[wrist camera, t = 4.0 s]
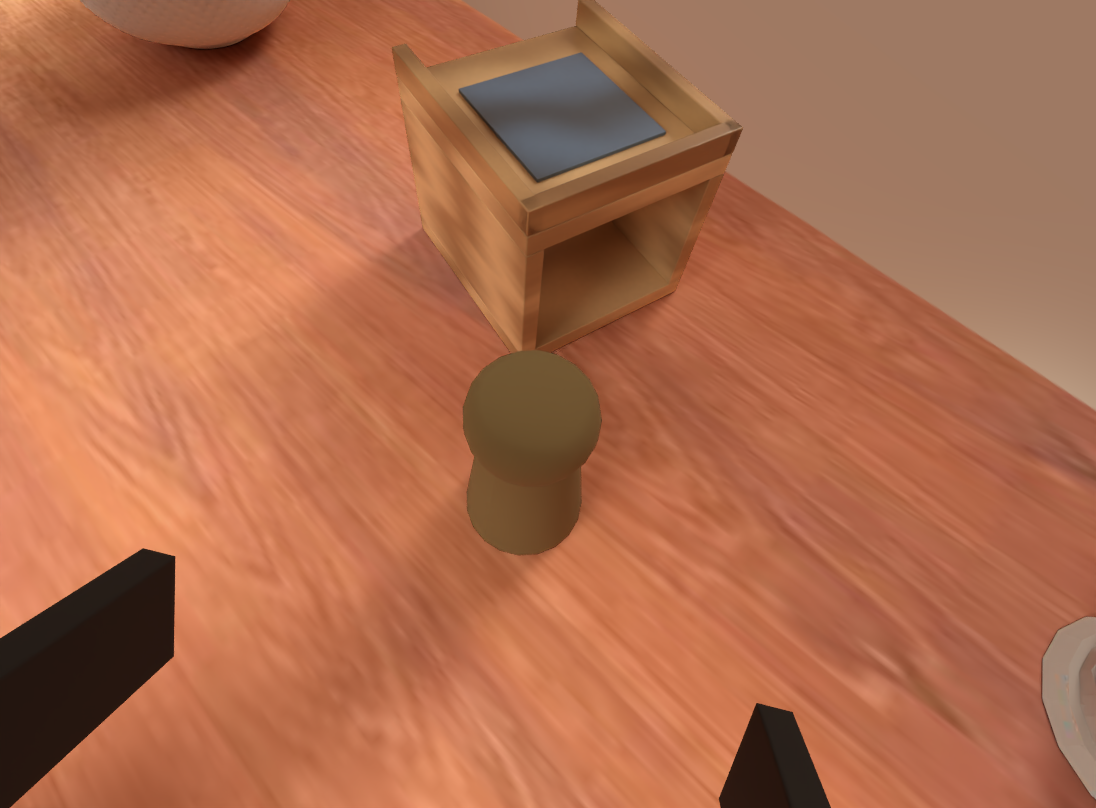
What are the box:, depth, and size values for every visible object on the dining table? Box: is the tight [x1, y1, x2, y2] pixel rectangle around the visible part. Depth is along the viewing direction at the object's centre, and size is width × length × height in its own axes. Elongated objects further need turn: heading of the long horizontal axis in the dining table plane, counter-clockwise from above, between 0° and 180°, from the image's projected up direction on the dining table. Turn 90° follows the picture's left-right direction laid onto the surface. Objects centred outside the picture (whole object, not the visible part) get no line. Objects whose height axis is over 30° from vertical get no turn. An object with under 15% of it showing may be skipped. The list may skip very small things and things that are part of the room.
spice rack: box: [392, 0, 743, 354], centre depth 32 cm, size 13×12×12 cm
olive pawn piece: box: [463, 350, 602, 555], centre depth 24 cm, size 6×6×11 cm
